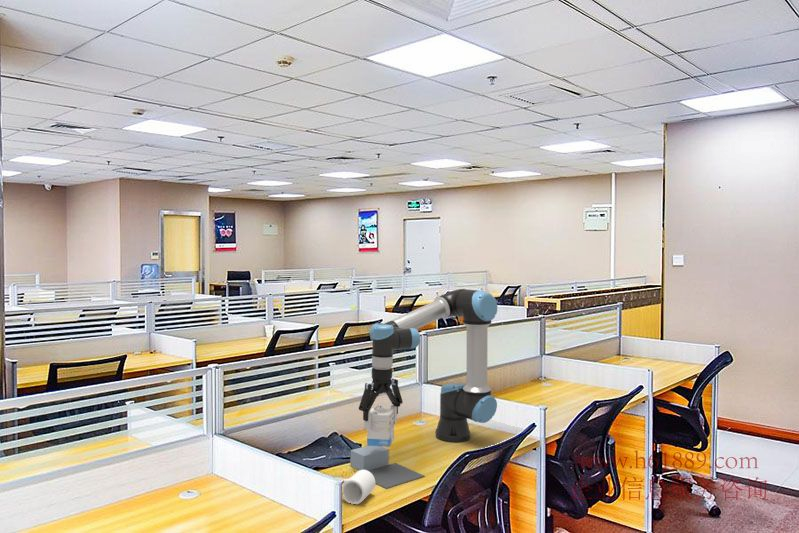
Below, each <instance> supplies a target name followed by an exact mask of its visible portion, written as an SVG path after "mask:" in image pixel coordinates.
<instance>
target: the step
mask: <svg viewBox="0 0 799 533" xmlns="http://www.w3.org/2000/svg"><path fill="white" fill-rule="evenodd" d="M349 456H350V458H349V462H350V464H349V467H351V468H353V469H355V470H357V471H359V470H367V471H369V470H372V469H376V468H379V467H383V466H386V465H390V461H389V460H390V448H388V447H385V446H368V445H366V446H365V445H364V446H362V447H358V448H354V449H351V450H350V455H349Z"/></svg>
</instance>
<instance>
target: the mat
mask: <svg viewBox="0 0 799 533" xmlns="http://www.w3.org/2000/svg"><path fill="white" fill-rule="evenodd" d="M369 472H370V473H372V475H373V476H374V478H375V485H377V486H379V487H381V488H383V489H385V490H387V489H391V488H394V487H397V486H401V485H403V484H407V483H409V482H413V481H416V480H419V479H423V478H425V475H424V474H422V473H419V472H417V471H415V470H413V469H410V468H408V467H406V466H404V465H402V464H399V463H396V462H393V463H389V465H386V466H383V467H379V468H376V469H372V470H369Z"/></svg>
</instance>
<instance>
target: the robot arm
mask: <svg viewBox="0 0 799 533" xmlns="http://www.w3.org/2000/svg"><path fill="white" fill-rule="evenodd" d="M497 313H498V302H497V300H496V298H495V296H493V294H492V293H490V292H488V291H484V290H476V289H466V288H458V289H455V290H452V291H449V292H446V293H444V294H441V295H439V296H437V297H435V298H434V300H433V301H432V302H430V303H427V304H425V305H422V306H421V307H418V308H416V309H413V310H412V311H409V312H407V313H404V314H402V315H401V316H398V317H396V318H394V319H392V320H389V321H387V322H384V323H381V322H380V323H377V322H376V323H373V325H371V327H370V329H369V337H370V340H371V341H372V342H371V343H372V344H371V345H372V347H371V348H372V350H371V351H372V353H371V354H372V356H371V366H372V368H371V378H372V381H371V382H370V383H368V382H365V383H364V390H363V394H362V397H361V399H360V403H359V406H358V410H359V411H361V412H362V420H363V422H364V423H363V424H364V425H363V429H364V430H366V431H367V430H371V412H369V411H370V410H371V409H372V408H373V407H372V406H373V405H374V402H375V401H376V399H377V398H378V396H379V395H380V394H386V396H387V397H388V399H389V401H390V403H391V405H390V409H394V425H397V416H398V414H399V408H400V407H401V405H402V404H403V402H404V401H403V398H402V395H401V391H400V388H399V380H398V379H396V378H393V368H392V367H393V365H394V364H393V362H394V360H393V358H394V351H397V350H398V351H399V350H407V349H409V350H410V349H415V348H417V347H418V346H419V345H420V343H421V334H420V332H419V331H418V330H419V329H420V328H423V327H425V326H427V325H429V324H431V323H433V322H436V321H437V320H440V319H448V318H451V317H462V324H463V325H464V326H465V327H466V382H465V383H464V382H451V383H445V384H442V386H441V387H440V393H439V394H440V395H439V396H440V397H439V398H440V399H439V400H440V401H439V402H440V404H439V405H440V406H439V408H440V409H439V420H438V422H437V423H438V424H437V426H436V429H435V434H434V435H435V437H436V439H439V440H441V441H443V442H444V441H445V442H450V443H459V442H460V443H461V442H462V443H463V442H466V441H469V440H471V435H472V434H471V431H470V428H469V422H468V420H471V421H473V422H475V423H476V422H477V423H481V424H485V423H488V422H489V421H490V420H492V418H493V417H494V416H495V414H496V412H497V410H498V409H497V408H498V402H497V399H496V398H495V396H494V395H492V388H491V386H489V384H488V331H489V330H488V328H489V327H490V325H491V324H492V320H494V319H495V317H496V315H497Z"/></svg>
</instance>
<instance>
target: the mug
mask: <svg viewBox="0 0 799 533" xmlns="http://www.w3.org/2000/svg"><path fill="white" fill-rule="evenodd" d="M343 479H344V483H342V484H343V485H342V486H343V495H342V498H343V499H344V500H345V501H346V502H347V503H348V504H350V503H351V504H350V505H353V504H356V505H359V504H361V503H362V502H363V501H364V500H365V499H366V498H367V497H368V496H369V495H370V494H371V493H372V492H373V491H374V490H375V487H376V484H375V478H374V476H373V475H372V473H370V472H369V471H367V470H357V471H356V472H355V473H354V474H353V475H352V476H350V477H349V478H343Z"/></svg>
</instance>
